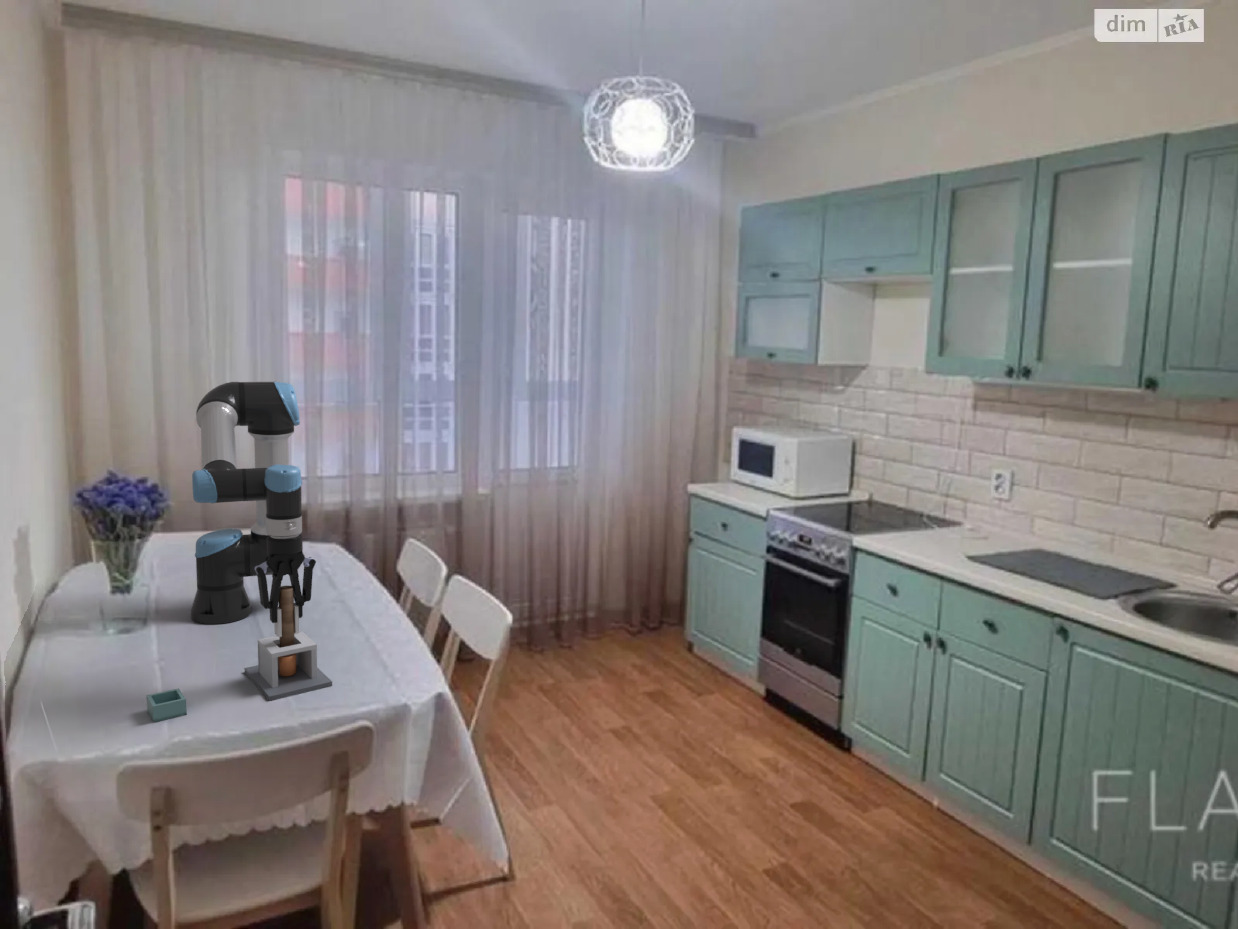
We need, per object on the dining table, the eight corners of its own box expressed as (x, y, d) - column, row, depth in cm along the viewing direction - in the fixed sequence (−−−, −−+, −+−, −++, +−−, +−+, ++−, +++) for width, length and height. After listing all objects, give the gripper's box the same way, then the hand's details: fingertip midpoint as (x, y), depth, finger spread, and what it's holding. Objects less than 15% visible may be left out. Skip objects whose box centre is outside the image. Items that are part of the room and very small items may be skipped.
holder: (147, 711, 180) (146, 695, 180) (179, 703, 184) (178, 688, 184) (153, 722, 176) (152, 706, 175) (186, 714, 179) (186, 699, 179)
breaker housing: (244, 672, 201) (243, 635, 199) (304, 659, 210) (303, 624, 208) (269, 701, 187) (268, 662, 186) (332, 685, 196) (331, 648, 194)
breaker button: (276, 671, 198) (276, 653, 198) (293, 668, 201) (292, 650, 200) (282, 677, 196) (281, 659, 195) (298, 673, 198) (298, 655, 197)
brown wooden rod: (278, 653, 198) (276, 587, 195) (292, 650, 200) (290, 584, 197) (282, 658, 195) (281, 591, 192) (296, 655, 197) (295, 588, 194)
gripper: (252, 543, 184) (255, 646, 189) (326, 533, 195) (327, 631, 199) (241, 535, 190) (244, 635, 194) (314, 526, 200) (316, 621, 204)
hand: (286, 633), depth 197 cm, fingers closed on brown wooden rod, 3 cm apart
